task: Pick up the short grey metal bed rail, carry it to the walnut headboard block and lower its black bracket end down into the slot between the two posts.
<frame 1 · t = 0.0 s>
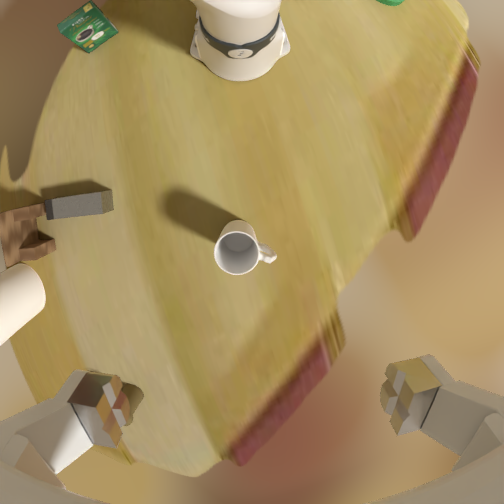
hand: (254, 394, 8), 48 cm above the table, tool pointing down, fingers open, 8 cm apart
headboard post: (44, 226, 54), on the table
canister: (26, 288, 58), on the table
coffee box: (102, 39, 44), on the table
cork: (133, 392, 66), on the table
bed rail: (84, 203, 53), on the table
mug: (246, 238, 56), on the table
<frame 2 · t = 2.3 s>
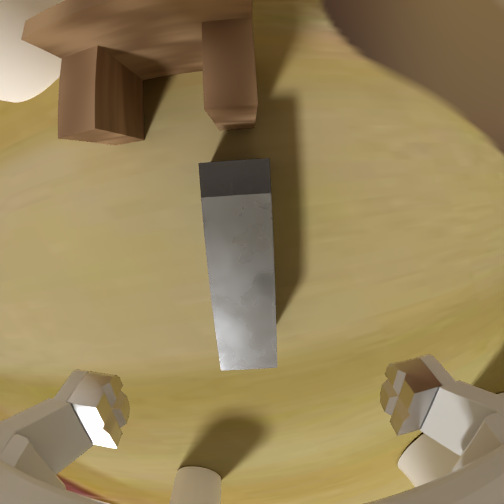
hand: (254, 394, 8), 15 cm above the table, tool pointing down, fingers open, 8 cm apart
headboard post: (179, 103, 20), on the table
canister: (38, 40, 17), on the table
bed rail: (242, 254, 23), on the table
mug: (197, 479, 32), on the table
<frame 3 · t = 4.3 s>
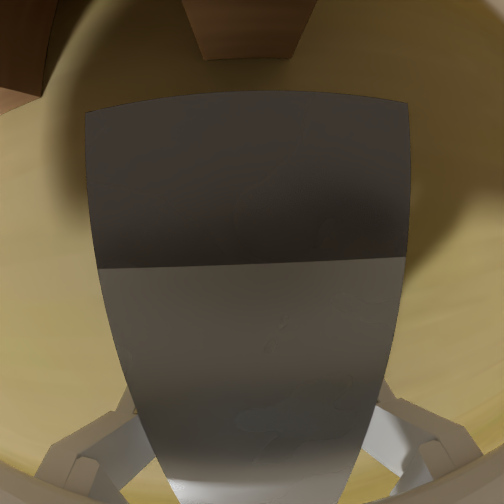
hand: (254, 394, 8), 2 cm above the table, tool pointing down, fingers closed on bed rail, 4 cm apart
headboard post: (118, 13, 6), on the table
bed rail: (253, 359, 10), on the table, touching gripper
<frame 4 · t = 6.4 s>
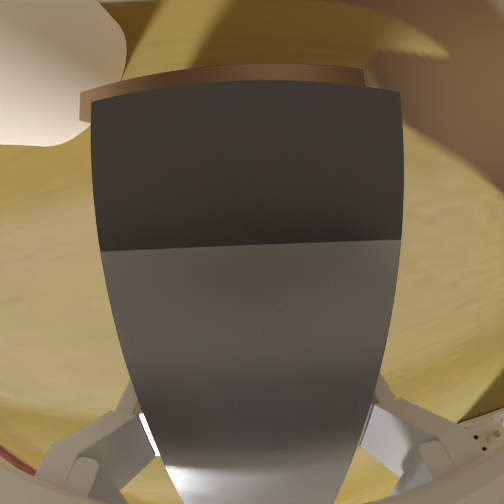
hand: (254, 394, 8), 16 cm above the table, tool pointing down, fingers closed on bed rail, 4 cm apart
headboard post: (232, 170, 21), on the table
canister: (61, 75, 18), on the table
bed rail: (252, 351, 10), point 14 cm above the table, touching gripper
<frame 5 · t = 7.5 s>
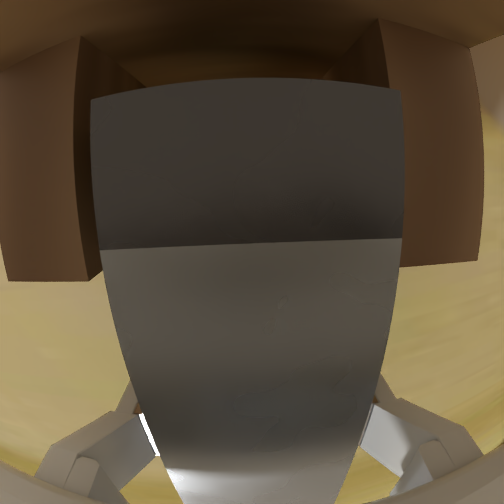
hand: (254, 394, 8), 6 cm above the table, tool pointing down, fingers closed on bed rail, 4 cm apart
headboard post: (237, 156, 12), on the table
bed rail: (252, 351, 10), point 4 cm above the table, touching gripper
when the fingers open (3 cm above the table, at t = 8.4 s): bed rail drops 1 cm, on the table.
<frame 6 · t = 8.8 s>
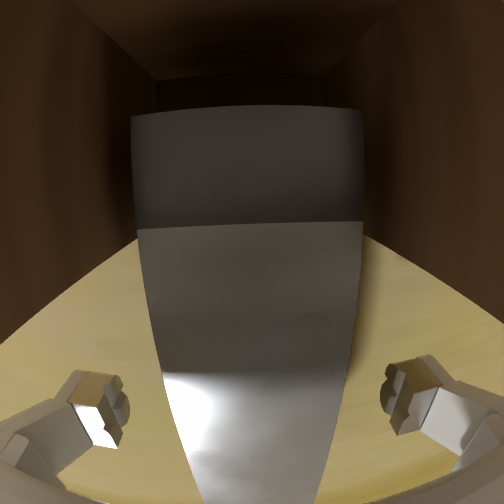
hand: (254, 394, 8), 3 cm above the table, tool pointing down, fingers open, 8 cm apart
headboard post: (243, 142, 9), on the table
bed rail: (251, 330, 11), on the table
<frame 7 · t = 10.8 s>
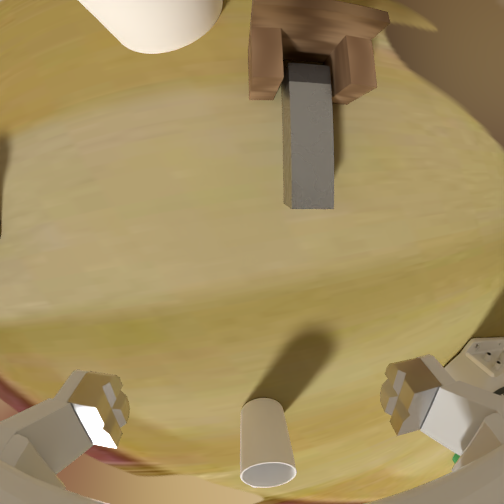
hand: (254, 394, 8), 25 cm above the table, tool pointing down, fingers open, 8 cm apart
headboard post: (298, 80, 28), on the table
canister: (166, 9, 25), on the table
bed rail: (301, 139, 30), on the table
mug: (258, 417, 40), on the table
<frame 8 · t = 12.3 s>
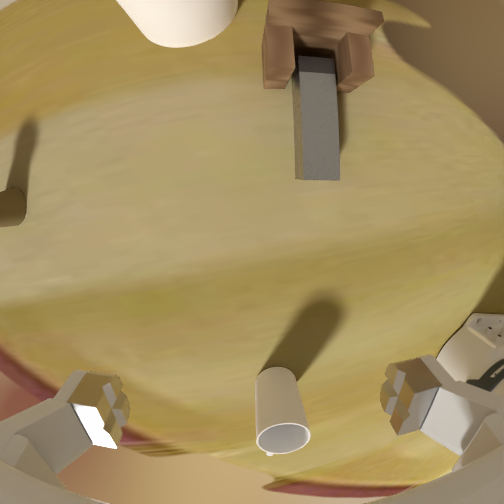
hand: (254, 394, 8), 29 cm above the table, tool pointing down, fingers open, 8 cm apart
headboard post: (306, 71, 31), on the table
canister: (186, 8, 28), on the table
cork: (14, 206, 34), on the table
bed rail: (309, 122, 33), on the table
mug: (271, 388, 43), on the table
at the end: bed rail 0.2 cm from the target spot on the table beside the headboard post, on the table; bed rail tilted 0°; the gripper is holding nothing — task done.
